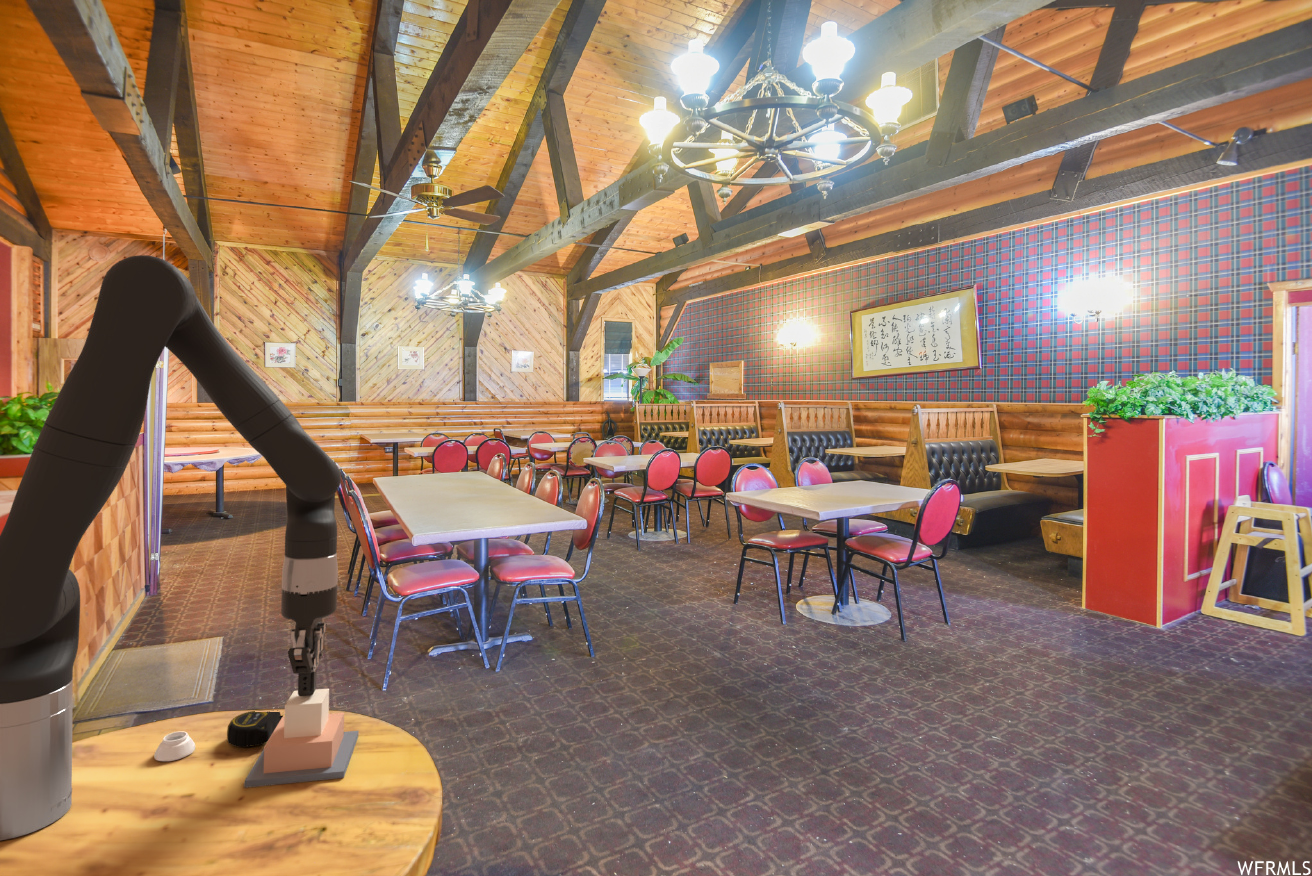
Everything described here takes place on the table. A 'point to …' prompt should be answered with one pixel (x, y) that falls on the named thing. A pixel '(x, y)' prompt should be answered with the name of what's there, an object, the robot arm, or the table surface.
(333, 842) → the table surface
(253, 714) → the tape measure
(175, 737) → the white bowl
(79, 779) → the table surface
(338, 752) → the build base
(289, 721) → the cream block
